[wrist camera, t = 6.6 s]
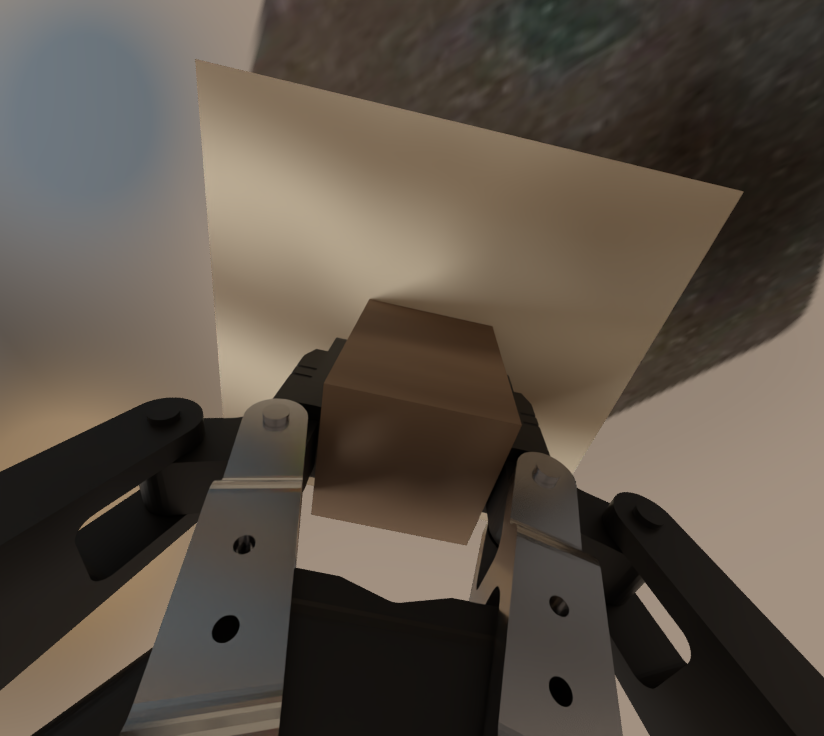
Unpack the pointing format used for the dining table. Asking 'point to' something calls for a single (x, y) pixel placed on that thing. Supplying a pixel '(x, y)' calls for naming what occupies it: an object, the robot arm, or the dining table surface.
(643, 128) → the dining table surface
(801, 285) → the dining table surface
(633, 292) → the lid
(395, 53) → the dining table surface
